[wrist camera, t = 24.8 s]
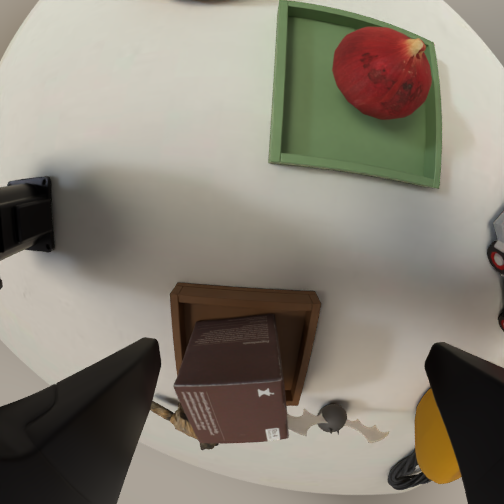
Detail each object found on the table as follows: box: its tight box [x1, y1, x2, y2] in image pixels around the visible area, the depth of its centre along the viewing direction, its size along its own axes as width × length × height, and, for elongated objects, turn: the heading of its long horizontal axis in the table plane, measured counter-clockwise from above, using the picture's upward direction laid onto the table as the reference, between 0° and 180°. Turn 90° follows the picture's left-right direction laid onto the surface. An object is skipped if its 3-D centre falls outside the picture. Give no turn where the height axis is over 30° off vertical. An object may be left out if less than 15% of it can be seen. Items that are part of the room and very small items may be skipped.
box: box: [174, 314, 289, 443], centre depth 17 cm, size 6×6×7 cm
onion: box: [332, 27, 432, 120], centre depth 11 cm, size 6×6×8 cm
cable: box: [388, 452, 432, 490], centre depth 27 cm, size 17×14×4 cm
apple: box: [415, 388, 461, 484], centre depth 18 cm, size 11×11×13 cm
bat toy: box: [287, 404, 389, 443], centre depth 21 cm, size 3×15×5 cm, turn 66°
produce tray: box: [268, 0, 442, 189], centre depth 15 cm, size 12×12×2 cm
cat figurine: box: [150, 401, 218, 450], centre depth 22 cm, size 3×8×4 cm, turn 67°
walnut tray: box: [170, 282, 321, 406], centre depth 20 cm, size 10×10×2 cm
